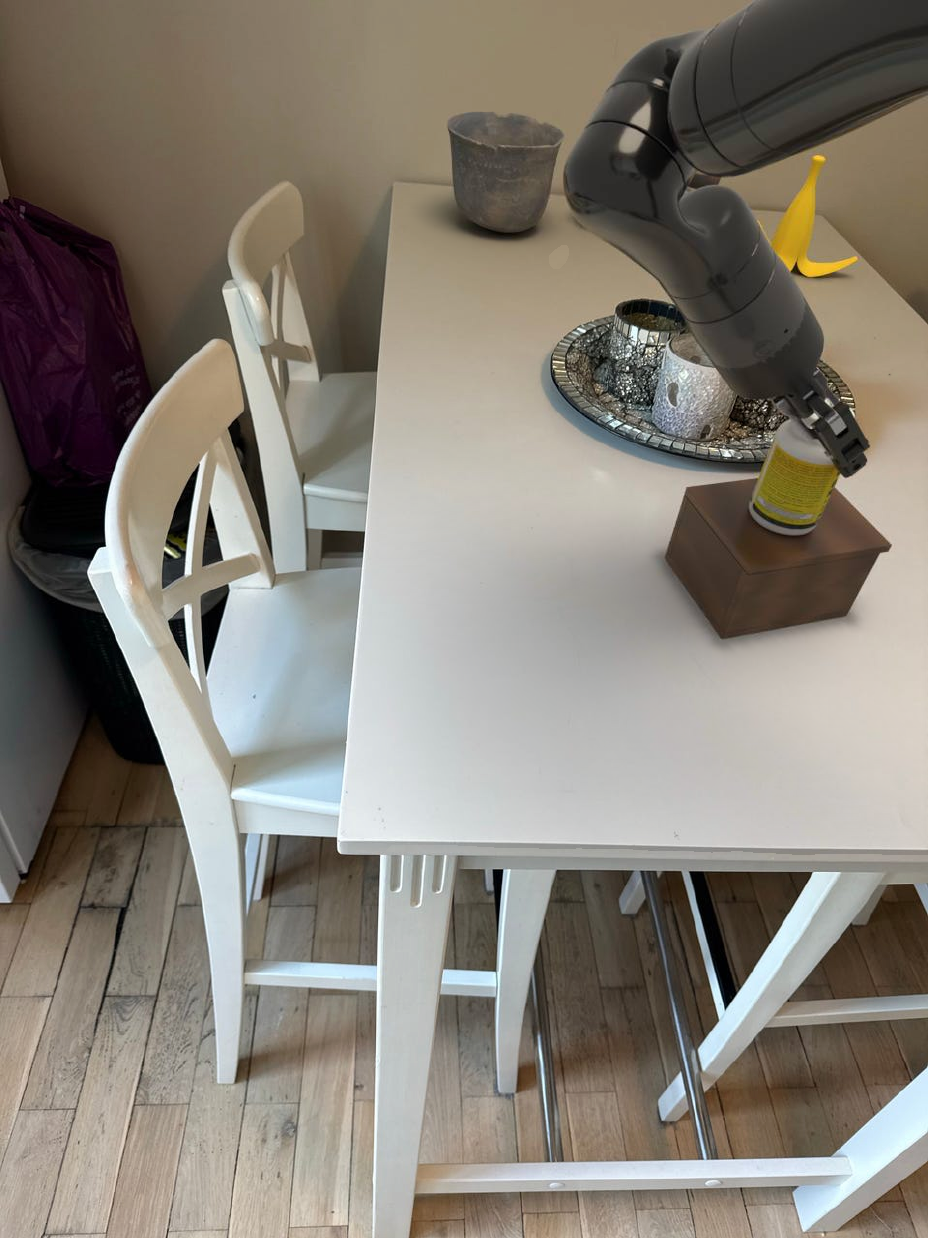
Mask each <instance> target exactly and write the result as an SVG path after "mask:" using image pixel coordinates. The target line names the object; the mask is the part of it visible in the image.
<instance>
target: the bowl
mask: <svg viewBox="0 0 928 1238" xmlns="http://www.w3.org/2000/svg"><path fill="white" fill-rule="evenodd" d="M446 127H447V131H448V134H449V142H450V153H451V173H452V185H453V187H452V188H453V194H454V199H455V203H456V206H457V208H458V209H459V211H460V212H461V213H462V214H463V216H465V217H466V218H467V219H468V220H470V221H471V222H473V223H475V224H476V225H478V226H479V227H481V228H484V229H488V230H490V231H493V232H498V233H505V234H510V233H511V234H512V233H513V234H514V233H515V234H516V233H521V232H525V231H526V230H528V229H530V228H532V227H534V226H535V225H536V224H538V223H539V222H540V221H541V219H542V217H543V216H544V213H545V211H546V209H547V207H548V203H549V198H550V194H551V189H552V185H553V184H552V183H553V179H554V178H553V177H554V171H555V167H556V163H557V157H558V154H559V150H560V147H561V145H562V143H563V141H564V139H565V133H564V132H563V131H562V130H561V128H558V127H557V126H554V125H553V124H550V123H548V122H546V121H545V122H544V121H540V120H539V119H537V118H533V117H531V116H528V115H524V114H518V113H512V112H510V113H507V114H505V113H504V114H499V113H497V112H495V111H470V112H464V113H459V114H457V115H453V116H452V117H450V118H449V119H448V120H447V122H446Z"/></svg>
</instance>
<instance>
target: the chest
mask: <svg viewBox="0 0 928 1238" xmlns="http://www.w3.org/2000/svg"><path fill="white" fill-rule="evenodd" d="M666 548H667V549H666V552H665V555H664V559H665V560H666V562H667V563H668V565H669V567H671V569H672V571H673V572H674V574H675V575H676V576H677V578H678V579H679V581H680V582H681V583H682V585H683V586H684V587H685V589H686V590H687V592H688V594H689V595H690V596H691V597H692V599H693V601H694V602H695V603H696V604H697V606H698V608H699V609H700V610H701V612H702V613H703V614H704V616H705V618H707V620H708V621H709V623H710V624H711V626H712V627H713V628H714V630H715V632H716V633H717V634H718V636H719V637H720V638H721V640H725V639H729V638H735V637H739V636H740V637H741V636H746V635H751V634H757V633H761V632H766V631H772V630H777V629H782V628H788V627H793V626H798V625H804V624H810V623H815V622H821V621H826V620H831V619H836V618H842V617H847V616H848V614H849V613H850V610H851V608H852V607H853V605H854V603H855V601H856V599H857V597H858V596H859V594H860V592H861V590H862V588H863V587H864V584H865V583H866V581H867V579H868V577H869V575H870V573H871V571H872V570H873V567H874V565H875V564H876V562H877V560H878V558H879V556H880V555H881V553H878V554H872V555H865V556H859V557H853V558H847V559H841V560H834V561H828V562H822V563H816V564H810V565H804V566H797V567H791V568H785V569H779V570H773V571H767V572H760V573H754V574H747V572H746V571H745V570H744V569H743V567H742V566H741V565H740V564H739V562H738V561H737V560H736V559H735V557H734V556H733V555H732V553H731V552H730V551H729V550H728V548H727V547H726V546H725V545H724V543H723V542H722V541H721V539H720V538H719V537H718V536H717V534H716V533H715V532H714V531H713V529H712V528H711V527H710V526H709V524H708V523H707V522H706V520H705V519H704V518H703V517H702V515H701V514H700V513H699V512H698V510H697V509H696V508H695V506H694V505H693V504H692V503H691V501H690V500H689V499H688V498H687V496H686V495H685V494H684V495H683V498H682V500H681V504H680V507H679V510H678V513H677V517H676V520H675V522H674V527H673V529H672V533H671V536H670V539H669V541H668V546H667V547H666Z"/></svg>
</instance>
